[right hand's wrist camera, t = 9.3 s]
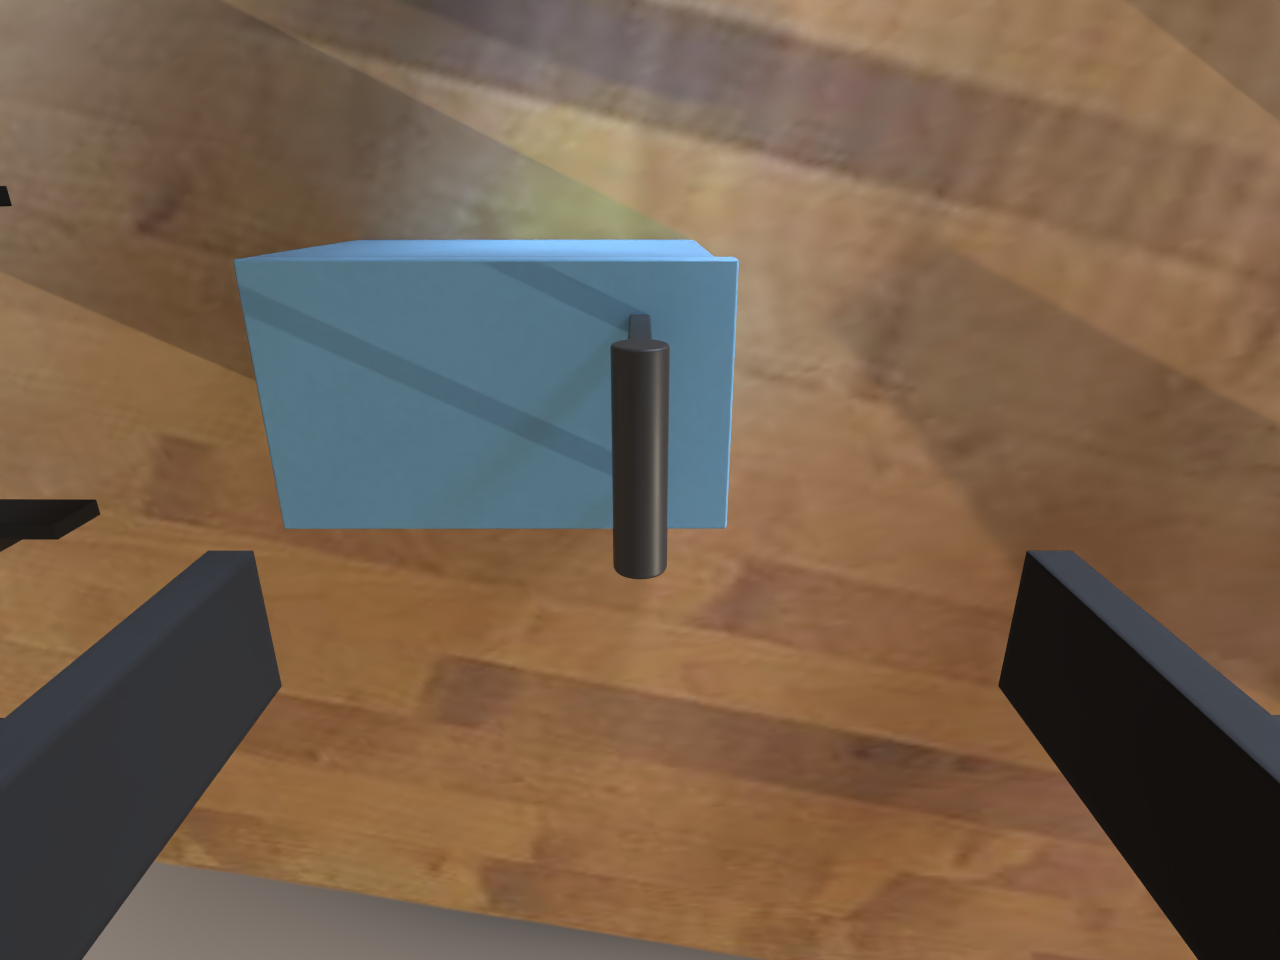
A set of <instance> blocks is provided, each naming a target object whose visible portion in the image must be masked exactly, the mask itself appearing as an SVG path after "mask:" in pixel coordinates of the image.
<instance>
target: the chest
mask: <svg viewBox="0 0 1280 960" xmlns="http://www.w3.org/2000/svg"><path fill="white" fill-rule="evenodd" d="M252 257H714V256H712V255H711V254H710V253H709V252H707V251H706V250H705V249H704V248H703V247H701V246H700V245H699V244H698V243H696V242H695V241H693V240H354V241H347V242H341V243H334V244H328V245H322V246H315V247H309V248H303V249H296V250H290V251H284V252H277V253H271V254H265V255H258V256H252Z"/></svg>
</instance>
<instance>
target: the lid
mask: <svg viewBox="0 0 1280 960" xmlns="http://www.w3.org/2000/svg"><path fill="white" fill-rule="evenodd" d="M233 263H234V268H235V273H236V278H237V284H238V289H239V294H240V299H241V305H242V310H243V315H244V320H245V325H246V331H247V336H248V341H249V346H250V352H251V357H252V362H253V367H254V373H255V378H256V383H257V388H258V393H259V399H260V404H261V409H262V414H263V420H264V425H265V430H266V435H267V441H268V446H269V451H270V456H271V462H272V467H273V472H274V477H275V482H276V488H277V493H278V498H279V503H280V509H281V514H282V519H283V524H284V528H285V529H613V560H614V569H615V570H616V572H617V573H618V574H620V575H622V576H624V577H627V578H632V579H648V578H653V577H656V576H659V575H660V574H662V573H663V572H664V571H665V569H666V567H667V528H726V526H727V505H728V484H729V462H730V441H731V419H732V398H733V376H734V355H735V333H736V311H737V290H738V268H739V261H738V260H737V259H736V258H734V257H247V258H240V259H235V260H234V261H233Z"/></svg>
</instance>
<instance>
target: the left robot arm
mask: <svg viewBox="0 0 1280 960" xmlns="http://www.w3.org/2000/svg"><path fill="white" fill-rule="evenodd" d="M0 206H12V205H11V201H10V198H9V194H8V191H7V187H6V186H0ZM98 515H100V512H99V508H98V505H97V501H96V500H26V499H0V552H1V551H3V550H4V549H6V548H8V547H10V546H12V545H13V544H15V543H17V542H19V541H21V540H22V539H59V538H61V537H63V536H65V535H66V534H68V533H70V532H71V531H73V530H75V529H76V528H78V527H80V526H81V525H83V524H85V523H87V522H88V521H90V520H92V519H93V518H95V517H97V516H98Z"/></svg>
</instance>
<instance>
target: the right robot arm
mask: <svg viewBox="0 0 1280 960" xmlns="http://www.w3.org/2000/svg"><path fill="white" fill-rule="evenodd" d="M281 686H282V685H281V681H280V676H279V671H278V666H277V662H276V657H275V652H274V647H273V643H272V638H271V633H270V628H269V624H268V619H267V614H266V609H265V605H264V600H263V595H262V590H261V586H260V581H259V576H258V571H257V566H256V562H255V557H254V552H253V551H207V552H206V553H205V554H204V555H202V556H201V557H200V558H199V559H197V560H196V561H195V562H194V563H193V564H191V565H190V566H189V567H188V568H187V569H185V570H184V571H183V572H182V573H180V574H179V575H178V576H177V577H176V578H174V579H173V580H172V581H171V582H170V583H168V584H167V585H166V586H165V587H163V588H162V589H161V590H160V591H159V592H157V593H156V594H155V595H154V596H153V597H151V598H150V599H149V600H148V601H146V602H145V603H144V604H143V605H142V606H140V607H139V608H138V609H137V610H136V611H134V612H133V613H132V614H131V615H129V616H128V617H127V618H126V619H125V620H123V621H122V622H121V623H120V624H119V625H117V626H116V627H115V628H114V629H112V630H111V631H110V632H109V633H108V634H106V635H105V636H104V637H103V638H102V639H100V640H99V641H98V642H97V643H95V644H94V645H93V646H92V647H91V648H89V649H88V650H87V651H86V652H84V653H83V654H82V655H81V656H80V657H78V658H77V659H76V660H75V661H74V662H72V663H71V664H70V665H69V666H67V667H66V668H65V669H64V670H63V671H61V672H60V673H59V674H58V675H57V676H55V677H54V678H53V679H52V680H50V681H49V682H48V683H47V684H46V685H44V686H43V687H42V688H41V689H40V690H38V691H37V692H36V693H35V694H33V695H32V696H31V697H30V698H29V699H27V700H26V701H25V702H24V703H23V704H21V705H20V706H19V707H18V708H16V709H15V710H14V711H13V712H12V713H10V714H9V715H8V716H7V717H6V718H0V960H82V959H83V957H84V956H85V955H86V953H87V952H88V950H89V949H90V948H91V946H92V945H93V944H94V942H95V941H96V940H97V938H98V937H99V935H100V934H101V933H102V931H103V930H104V929H105V927H106V926H107V924H108V923H109V922H110V920H111V919H112V918H113V916H114V915H115V914H116V912H117V911H118V909H119V908H120V907H121V905H122V904H123V903H124V901H125V900H126V898H127V897H128V896H129V894H130V893H131V892H132V890H133V889H134V888H135V886H136V885H137V883H138V882H139V881H140V879H141V878H142V877H143V875H144V874H145V872H146V871H147V870H148V868H149V867H150V866H151V864H152V863H153V862H154V860H155V859H156V857H157V856H158V855H159V853H160V852H161V851H162V849H163V848H164V846H165V845H166V844H167V842H168V841H169V840H170V838H171V837H172V836H173V834H174V833H175V831H176V830H177V829H178V827H179V826H180V825H181V823H182V822H183V820H184V819H185V818H186V816H187V815H188V814H189V812H190V811H191V809H192V808H193V807H194V805H195V804H196V803H197V801H198V800H199V799H200V797H201V796H202V794H203V793H204V792H205V790H206V789H207V788H208V786H209V785H210V783H211V782H212V781H213V779H214V778H215V777H216V775H217V774H218V773H219V771H220V770H221V768H222V767H223V766H224V764H225V763H226V762H227V760H228V759H229V757H230V756H231V755H232V753H233V752H234V751H235V749H236V748H237V746H238V745H239V744H240V742H241V741H242V740H243V738H244V737H245V736H246V734H247V733H248V731H249V730H250V729H251V727H252V726H253V725H254V723H255V722H256V720H257V719H258V718H259V716H260V715H261V714H262V712H263V711H264V710H265V708H266V707H267V705H268V704H269V703H270V701H271V700H272V699H273V697H274V696H275V694H276V693H277V692H278V690H279V689H280V688H281ZM998 686H999V688H1000V689H1001V690H1002V692H1003V693H1004V694H1005V696H1006V697H1007V699H1008V700H1009V701H1010V703H1011V704H1012V705H1013V707H1014V708H1015V710H1016V711H1017V712H1018V714H1019V715H1020V716H1021V718H1022V719H1023V720H1024V722H1025V723H1026V725H1027V726H1028V727H1029V729H1030V730H1031V731H1032V733H1033V734H1034V736H1035V737H1036V738H1037V740H1038V741H1039V742H1040V744H1041V745H1042V746H1043V748H1044V749H1045V751H1046V752H1047V753H1048V755H1049V756H1050V757H1051V759H1052V760H1053V762H1054V763H1055V764H1056V766H1057V767H1058V768H1059V770H1060V771H1061V773H1062V774H1063V775H1064V777H1065V778H1066V779H1067V781H1068V782H1069V783H1070V785H1071V786H1072V788H1073V789H1074V790H1075V792H1076V793H1077V794H1078V796H1079V797H1080V799H1081V800H1082V801H1083V803H1084V804H1085V805H1086V807H1087V808H1088V809H1089V811H1090V812H1091V814H1092V815H1093V816H1094V818H1095V819H1096V820H1097V822H1098V823H1099V825H1100V826H1101V827H1102V829H1103V830H1104V831H1105V833H1106V834H1107V836H1108V837H1109V838H1110V840H1111V841H1112V842H1113V844H1114V845H1115V846H1116V848H1117V849H1118V851H1119V852H1120V853H1121V855H1122V856H1123V857H1124V859H1125V860H1126V862H1127V863H1128V864H1129V866H1130V867H1131V868H1132V870H1133V871H1134V872H1135V874H1136V875H1137V877H1138V878H1139V879H1140V881H1141V882H1142V883H1143V885H1144V886H1145V888H1146V889H1147V890H1148V892H1149V893H1150V894H1151V896H1152V897H1153V898H1154V900H1155V901H1156V903H1157V904H1158V905H1159V907H1160V908H1161V909H1162V911H1163V912H1164V914H1165V915H1166V916H1167V918H1168V919H1169V920H1170V922H1171V923H1172V925H1173V926H1174V927H1175V929H1176V930H1177V931H1178V933H1179V934H1180V935H1181V937H1182V938H1183V940H1184V941H1185V942H1186V944H1187V945H1188V946H1189V948H1190V949H1191V951H1192V952H1193V953H1194V955H1195V956H1196V957H1197V959H1198V960H1280V715H1271V714H1270V713H1268V712H1267V711H1266V710H1265V709H1264V708H1262V707H1261V706H1260V705H1259V704H1257V703H1256V702H1255V701H1254V700H1253V699H1251V698H1250V697H1249V696H1248V695H1247V694H1245V693H1244V692H1243V691H1242V690H1240V689H1239V688H1238V687H1237V686H1236V685H1234V684H1233V683H1232V682H1231V681H1230V680H1228V679H1227V678H1226V677H1225V676H1223V675H1222V674H1221V673H1220V672H1219V671H1217V670H1216V669H1215V668H1214V667H1213V666H1211V665H1210V664H1209V663H1208V662H1206V661H1205V660H1204V659H1203V658H1202V657H1200V656H1199V655H1198V654H1197V653H1196V652H1194V651H1193V650H1192V649H1191V648H1189V647H1188V646H1187V645H1186V644H1185V643H1183V642H1182V641H1181V640H1180V639H1178V638H1177V637H1176V636H1175V635H1174V634H1172V633H1171V632H1170V631H1169V630H1168V629H1166V628H1165V627H1164V626H1163V625H1161V624H1160V623H1159V622H1158V621H1157V620H1155V619H1154V618H1153V617H1152V616H1151V615H1149V614H1148V613H1147V612H1146V611H1144V610H1143V609H1142V608H1141V607H1140V606H1138V605H1137V604H1136V603H1135V602H1134V601H1132V600H1131V599H1130V598H1129V597H1127V596H1126V595H1125V594H1124V593H1123V592H1121V591H1120V590H1119V589H1118V588H1117V587H1115V586H1114V585H1113V584H1112V583H1110V582H1109V581H1108V580H1107V579H1106V578H1104V577H1103V576H1102V575H1101V574H1100V573H1098V572H1097V571H1096V570H1095V569H1093V568H1092V567H1091V566H1090V565H1089V564H1087V563H1086V562H1085V561H1084V560H1083V559H1081V558H1080V557H1079V556H1078V555H1076V554H1075V553H1074V552H1073V551H1027V552H1026V557H1025V562H1024V566H1023V571H1022V576H1021V581H1020V586H1019V590H1018V595H1017V600H1016V605H1015V609H1014V614H1013V619H1012V624H1011V628H1010V633H1009V638H1008V643H1007V647H1006V652H1005V657H1004V662H1003V666H1002V671H1001V676H1000V681H999V685H998Z"/></svg>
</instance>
